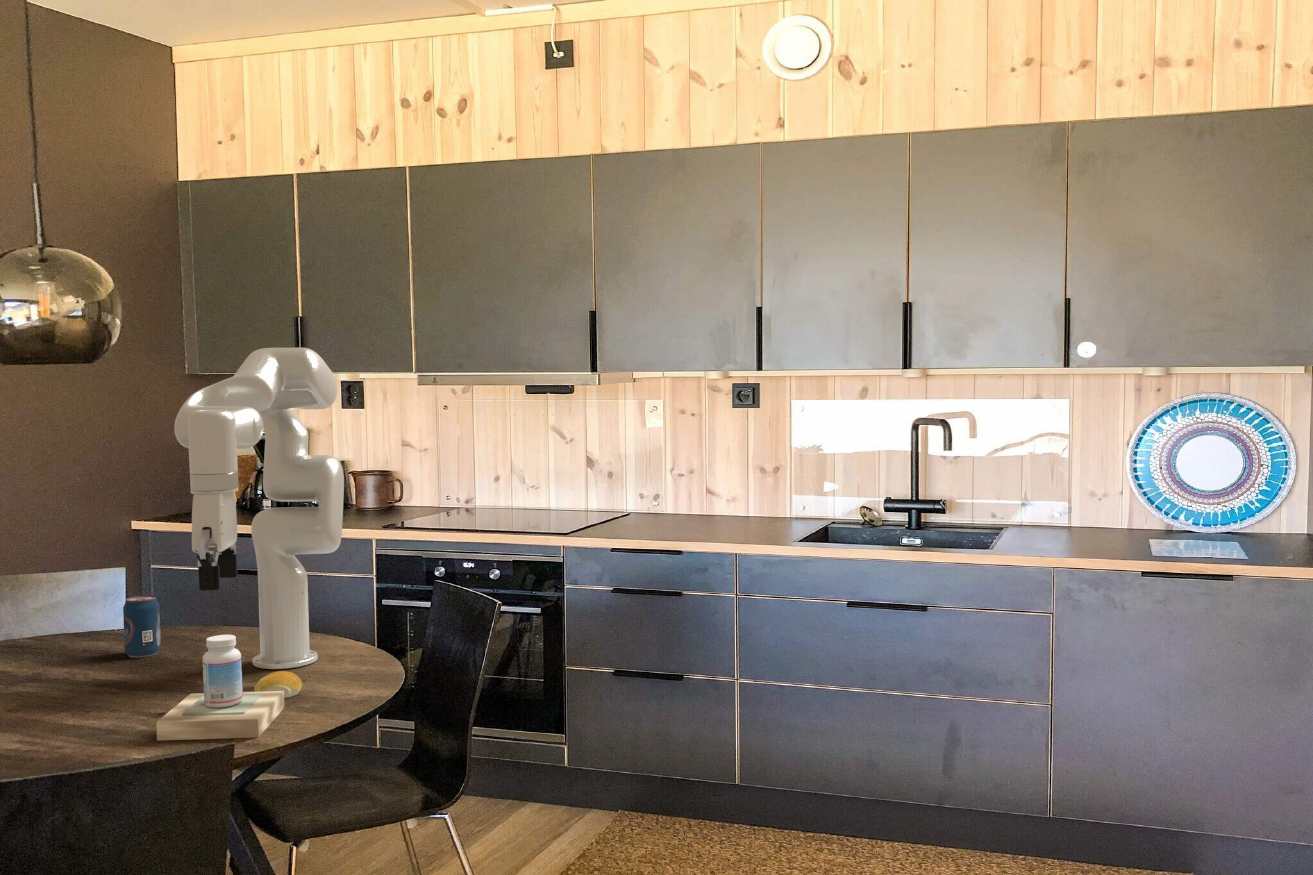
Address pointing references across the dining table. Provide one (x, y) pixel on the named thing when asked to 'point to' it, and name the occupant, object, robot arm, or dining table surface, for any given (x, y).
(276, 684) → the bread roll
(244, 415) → the robot arm
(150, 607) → the soda can
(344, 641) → the dining table surface
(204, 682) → the pill bottle
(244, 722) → the birch plinth
